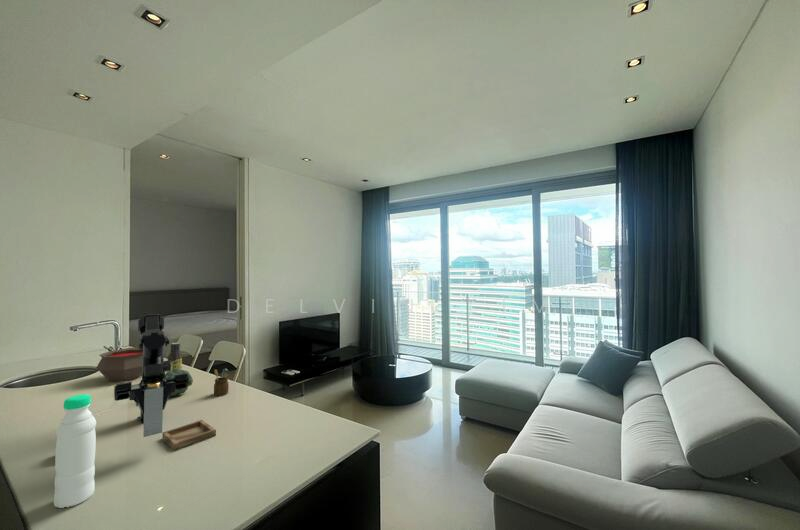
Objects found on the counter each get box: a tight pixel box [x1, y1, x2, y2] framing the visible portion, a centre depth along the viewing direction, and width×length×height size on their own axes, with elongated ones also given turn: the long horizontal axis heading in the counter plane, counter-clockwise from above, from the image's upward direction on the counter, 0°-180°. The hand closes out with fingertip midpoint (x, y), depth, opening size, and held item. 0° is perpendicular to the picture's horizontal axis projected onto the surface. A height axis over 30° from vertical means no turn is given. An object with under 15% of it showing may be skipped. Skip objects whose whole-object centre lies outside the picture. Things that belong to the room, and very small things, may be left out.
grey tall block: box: [142, 381, 164, 438], centre depth 100 cm, size 4×4×15 cm
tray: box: [162, 419, 217, 452], centre depth 109 cm, size 12×12×2 cm
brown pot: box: [95, 346, 143, 383], centre depth 172 cm, size 24×24×16 cm
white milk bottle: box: [53, 393, 97, 509], centre depth 79 cm, size 7×7×25 cm
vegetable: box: [164, 369, 194, 397], centre depth 149 cm, size 12×13×15 cm
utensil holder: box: [213, 368, 230, 397], centre depth 149 cm, size 6×6×12 cm
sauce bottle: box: [166, 342, 183, 373], centre depth 164 cm, size 7×6×20 cm
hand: (153, 411), depth 99 cm, fingers closed on grey tall block, 4 cm apart
